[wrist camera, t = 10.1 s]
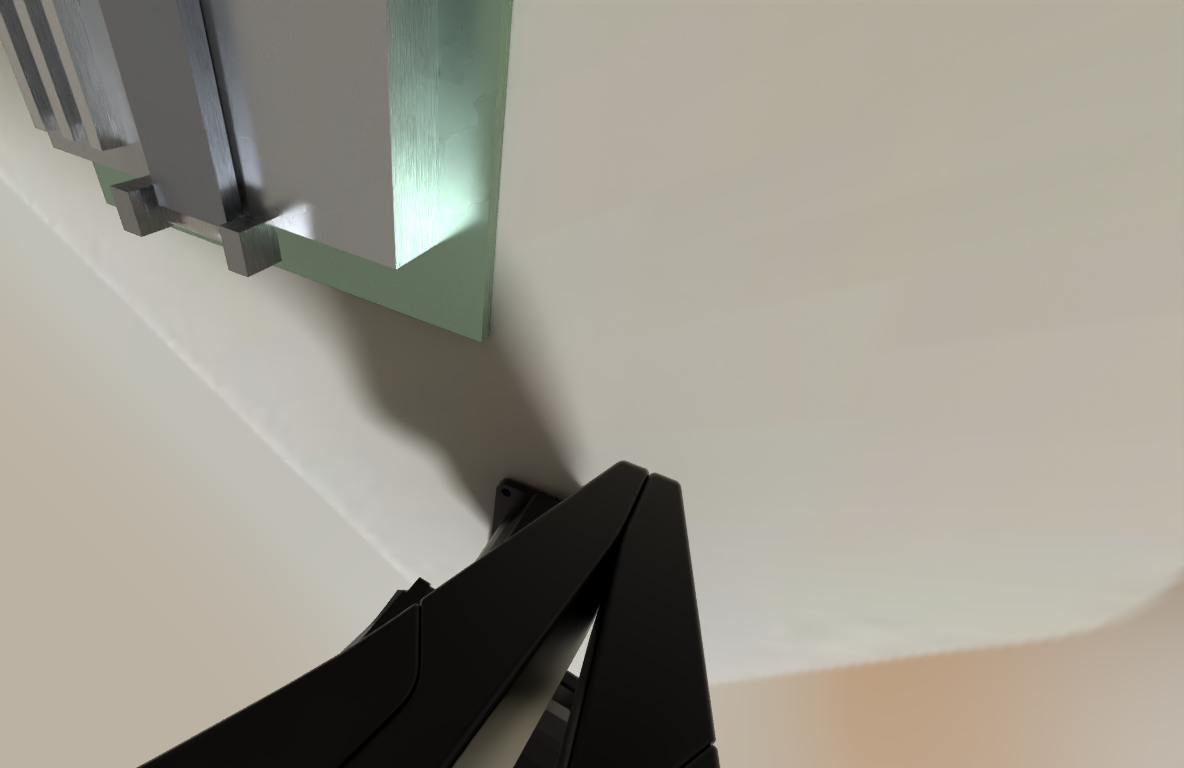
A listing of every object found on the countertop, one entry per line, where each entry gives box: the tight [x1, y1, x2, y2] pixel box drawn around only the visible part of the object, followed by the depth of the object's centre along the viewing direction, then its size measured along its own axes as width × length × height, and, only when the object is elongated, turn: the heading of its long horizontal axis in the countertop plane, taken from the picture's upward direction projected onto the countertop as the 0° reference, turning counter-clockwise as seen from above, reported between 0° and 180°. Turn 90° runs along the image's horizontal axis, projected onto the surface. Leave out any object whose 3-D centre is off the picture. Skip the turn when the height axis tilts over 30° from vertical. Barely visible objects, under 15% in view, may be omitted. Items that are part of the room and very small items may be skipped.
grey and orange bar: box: [98, 0, 244, 242], centre depth 17 cm, size 14×3×1 cm, turn 170°
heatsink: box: [0, 0, 513, 342], centre depth 18 cm, size 19×19×4 cm
